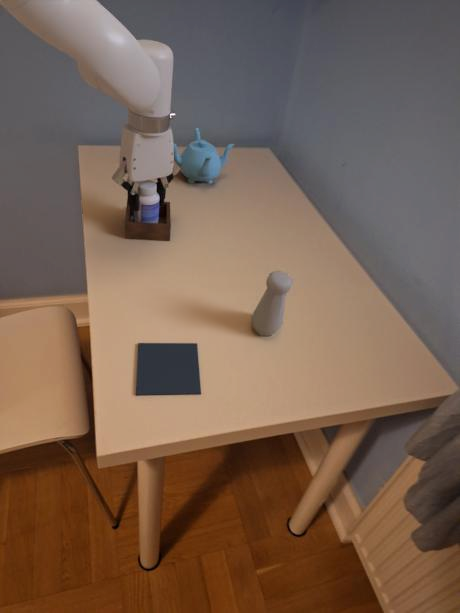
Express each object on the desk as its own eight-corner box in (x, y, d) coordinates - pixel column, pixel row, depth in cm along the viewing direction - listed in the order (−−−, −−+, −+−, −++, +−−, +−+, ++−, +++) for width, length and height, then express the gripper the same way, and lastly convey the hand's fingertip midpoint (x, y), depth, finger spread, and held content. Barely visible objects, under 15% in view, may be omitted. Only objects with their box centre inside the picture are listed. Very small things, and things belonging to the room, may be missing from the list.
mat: (135, 395, 62) (135, 394, 62) (138, 344, 69) (138, 342, 68) (200, 394, 64) (201, 393, 64) (196, 344, 71) (197, 343, 70)
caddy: (125, 238, 88) (124, 223, 85) (127, 213, 94) (127, 198, 92) (169, 241, 90) (170, 226, 87) (169, 216, 96) (170, 201, 94)
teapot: (230, 178, 114) (236, 143, 107) (203, 195, 105) (208, 158, 98) (193, 161, 118) (197, 126, 111) (164, 176, 109) (166, 139, 102)
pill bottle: (162, 222, 92) (165, 183, 86) (149, 233, 88) (151, 193, 82) (142, 214, 93) (143, 174, 87) (128, 224, 90) (128, 184, 83)
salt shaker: (272, 315, 79) (290, 264, 70) (284, 337, 75) (304, 286, 66) (245, 319, 77) (259, 267, 68) (255, 342, 73) (272, 290, 64)
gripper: (177, 108, 81) (171, 189, 94) (96, 115, 72) (101, 204, 85) (198, 124, 78) (189, 206, 90) (115, 133, 69) (117, 223, 81)
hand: (146, 204), depth 87 cm, fingers closed on pill bottle, 5 cm apart
